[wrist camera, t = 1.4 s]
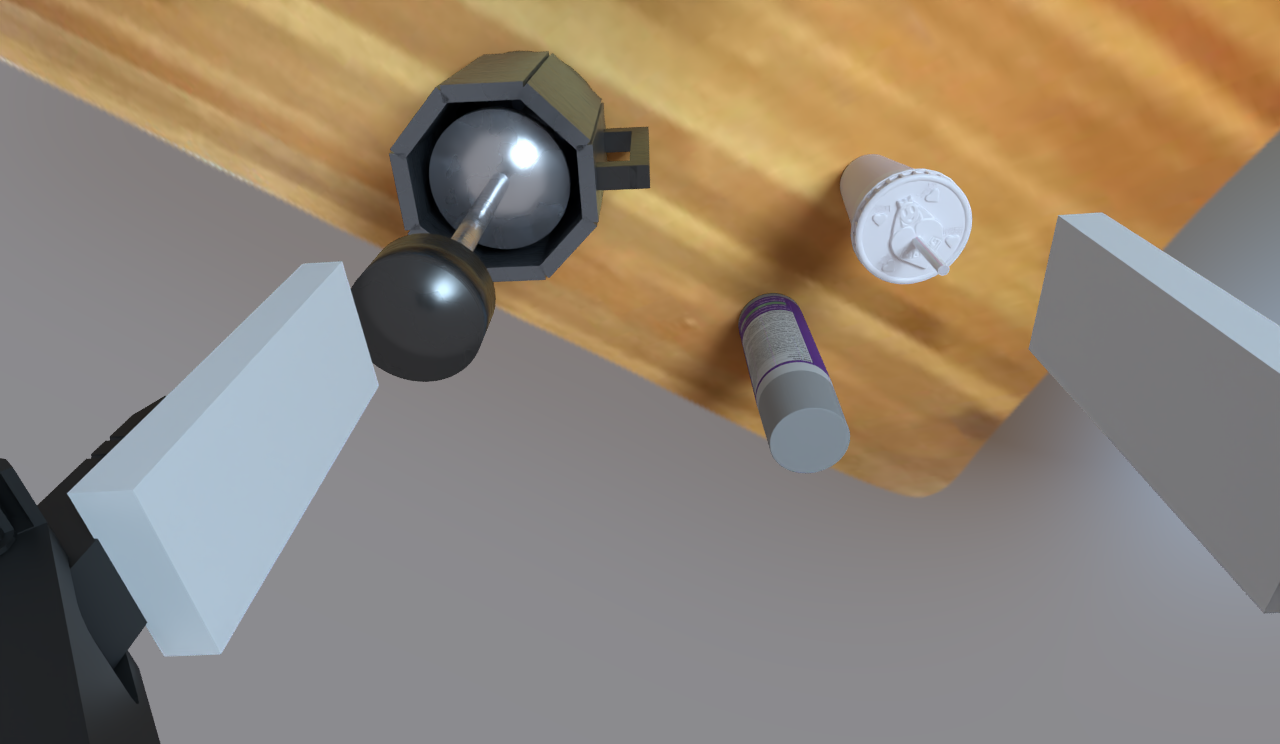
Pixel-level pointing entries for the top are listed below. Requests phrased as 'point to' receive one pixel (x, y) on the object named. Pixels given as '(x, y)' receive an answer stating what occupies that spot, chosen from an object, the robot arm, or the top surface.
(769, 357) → the container
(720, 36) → the top surface
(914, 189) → the smoothie
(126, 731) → the robot arm
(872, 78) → the top surface
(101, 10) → the top surface
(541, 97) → the mug
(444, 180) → the plunger
